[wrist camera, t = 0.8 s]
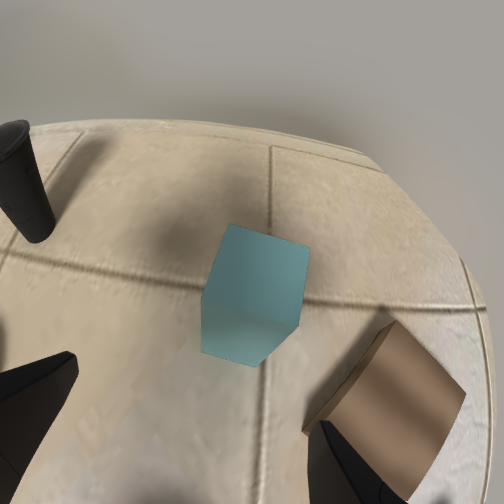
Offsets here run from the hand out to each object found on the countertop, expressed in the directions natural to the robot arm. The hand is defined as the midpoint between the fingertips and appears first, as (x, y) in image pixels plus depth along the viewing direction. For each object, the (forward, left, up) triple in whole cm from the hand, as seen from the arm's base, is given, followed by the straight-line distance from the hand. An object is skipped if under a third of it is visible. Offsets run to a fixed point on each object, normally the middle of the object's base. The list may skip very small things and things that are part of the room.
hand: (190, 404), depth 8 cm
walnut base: (-7, -18, -15) cm, 24 cm away
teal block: (+6, -5, -15) cm, 17 cm away
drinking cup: (+22, +17, -15) cm, 32 cm away
